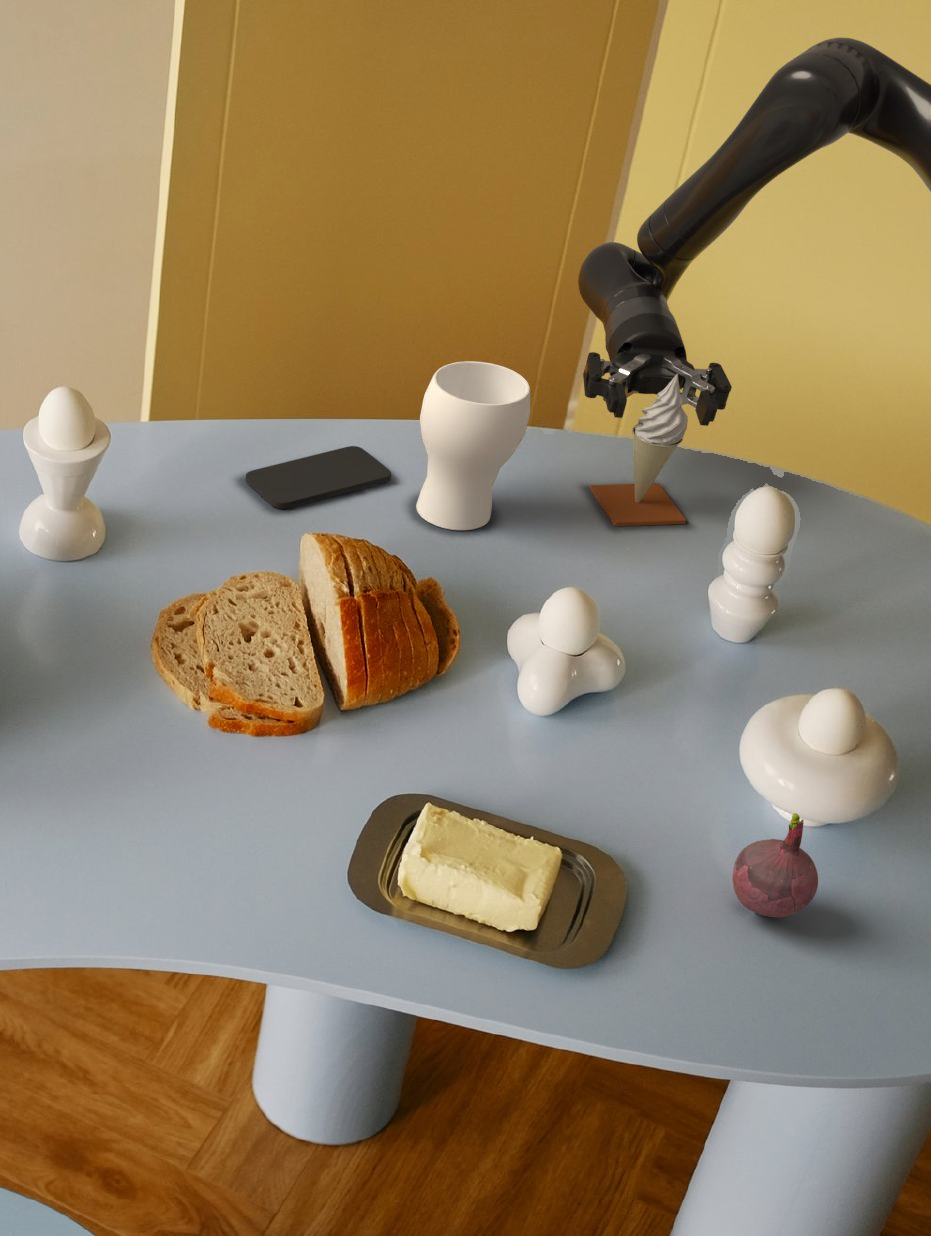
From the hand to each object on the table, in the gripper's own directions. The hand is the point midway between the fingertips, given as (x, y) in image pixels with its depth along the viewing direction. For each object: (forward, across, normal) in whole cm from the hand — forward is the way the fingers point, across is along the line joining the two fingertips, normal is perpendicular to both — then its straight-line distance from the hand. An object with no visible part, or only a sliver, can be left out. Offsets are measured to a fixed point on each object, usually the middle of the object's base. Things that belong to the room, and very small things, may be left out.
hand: (664, 413), depth 169 cm
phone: (+1, -34, +11) cm, 35 cm away
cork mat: (0, 0, +11) cm, 11 cm away
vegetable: (+61, +2, +11) cm, 62 cm away
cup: (+5, -19, +11) cm, 23 cm away
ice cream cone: (0, 0, +11) cm, 11 cm away
